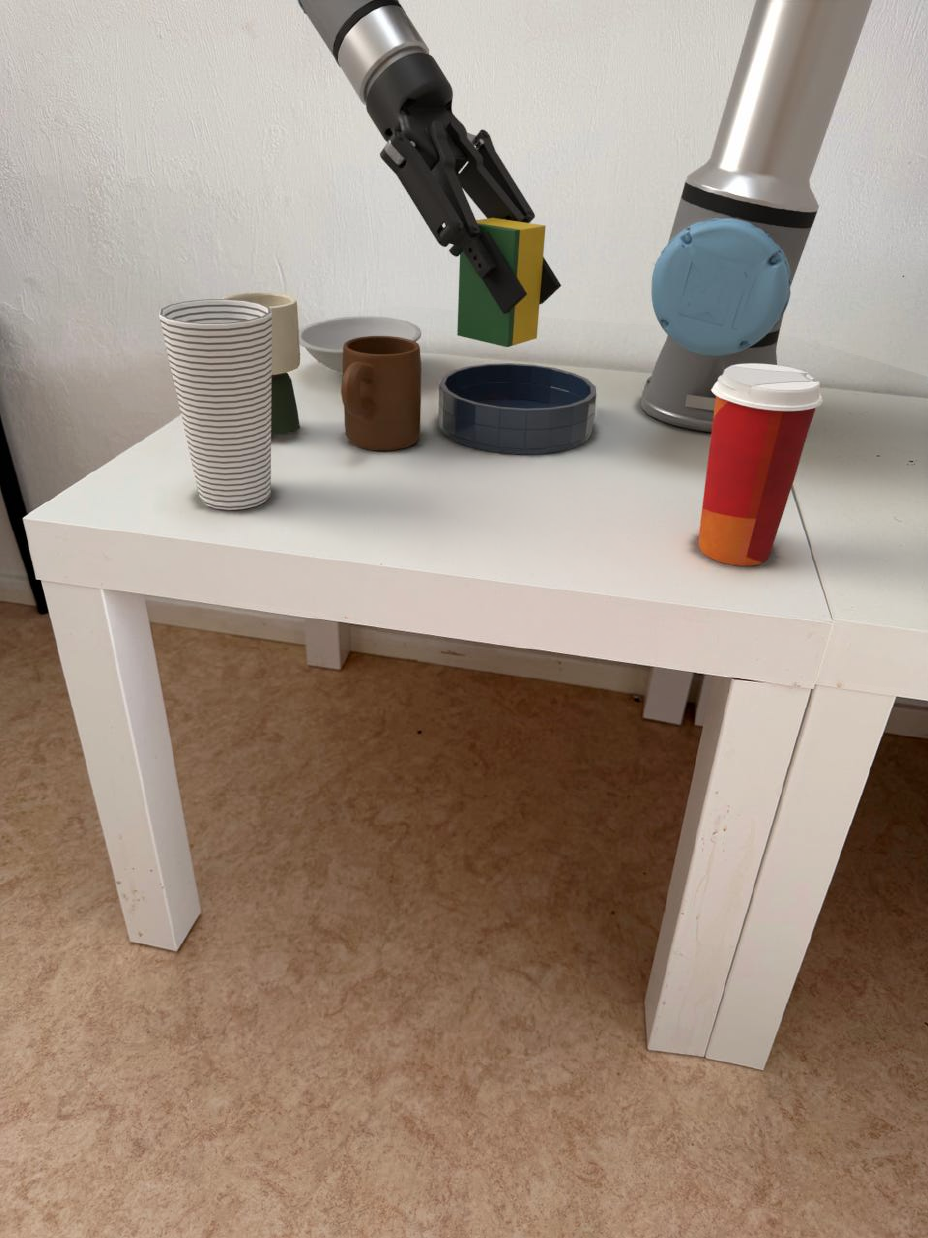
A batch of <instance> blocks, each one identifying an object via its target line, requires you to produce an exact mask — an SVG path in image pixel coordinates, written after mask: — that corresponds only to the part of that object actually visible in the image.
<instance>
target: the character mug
mask: <svg viewBox="0 0 928 1238" xmlns="http://www.w3.org/2000/svg"><path fill="white" fill-rule="evenodd" d="M221 299H232V300H245V301H251V302H256V303H261V304H263V305H265V306H267V307H269V308H270V309H271V312H272V369H271V436H280V435H282V436H284V435H289V434H293V433H296V432H297V431H298V430H299V429H300V428H301V425H300V418H299V411H298V406H297V401H296V396H295V391H294V387H293V380H292V378H291V376H290V374H289V372H292V371H295V370H297V369H298V368H299V367H300V365H301V348H300V347H301V345H300V344H299V330H300V329H299V315H298V314H299V313H298V302H297V299H296V298H295V297H293V296H291V295H288V294H282V293H277V292H276V293H275V292H243V293H242V292H241V293H235V294H234V293H233V294H230V295H225V296H223V297H222V298H221Z"/></svg>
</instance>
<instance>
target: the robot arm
mask: <svg viewBox="0 0 928 1238" xmlns="http://www.w3.org/2000/svg"><path fill="white" fill-rule="evenodd" d="M296 1H297V4H298V6H299V7H300V8H301V10H302V11H303V14H305V15H306V17H307V18H308V19H309V20H310V23H311V24H312V26H313V27H314V28H315V30H316V32H317V33H318V35H319V37H320V38H321V39H322V41H323V43H324V44H325V45H326V47H327V48H328V50H329V53H331V55H332V56H333V58H334V60H335V62H336V64H337V65H338V66H339V68H340V69H341V70H342V72H343V74H344V76H345V77H346V78H347V81H348V82H349V84H350V85H351V87H352V89H353V90H354V92H355V93H356V95H357V97H358V99H359V100H360V103H362V104H363V105H364V106H365V109H366V112H367V114H368V116H369V117H370V119H371V120H372V123H373V124H374V125H375V127H376V129H377V130H378V133H380V136H381V137H382V138H383V140H384V141H385V142H386V144H385V145H384V147H383V148H382V150H381V151H380V152H379V157H380V159H381V160H382V161H383V162H384V163H385V164H386V166H388V168H389V169H390V170H391V171H392V172H393V174H395V175H396V177H397V178H398V180H399V182H400V183H401V185H402V187H403V188H404V190H405V192H406V193H407V195H408V196H409V198H410V200H411V201H412V203H413V205H414V206H415V208H416V209H417V211H418V212H419V214H420V216H421V218H422V219H423V220H424V222H425V224H426V226H427V227H428V229H429V230H430V232H431V233H432V235H433V237H434V238H435V240H436V242H437V243H438V244H439V245H440V246H441V247H443V248H446V247H448V246H449V245H452V246H451V247H450V248H449V249H448V252H449V254H451V255H452V256H453V257H455V258H457V257H460V254H461V253H462V251H463V252H464V253H465V255H466V257H467V258H468V260H469V261H470V263H471V264H472V266H473V268H474V270H475V271H476V273H477V274H478V275H479V276H480V277H481V278H482V280H483V282H484V283H485V285H486V287H487V288H488V290H489V291H490V293H491V295H492V296H493V298H494V299H495V301H496V303H497V304H498V306H499V308H500V309H501V311H502V312H503V314H506V313H509V312H510V311H511V310H512V309H513V308H514V307H515V306H516V305H517V304H518V303H519V302H520V301H521V300H522V299H523V298H524V297H525V296H526V295H527V293H526V291H525V290H524V288H523V286H522V285H521V283H520V281H519V280H518V278H517V277H516V275H515V273H514V272H513V270H512V269H511V267H510V266H509V264H508V262H507V261H506V259H505V258H504V256H503V254H502V253H501V251H500V249H499V248H498V246H497V245H496V243H495V241H494V240H493V238H492V237H491V235H490V233H489V232H488V231H487V232H483V233H482V234H481V235H480V236H478V233H479V232H480V229H479V226H478V224H477V221H476V220H477V219H476V217H475V215H474V212H473V210H472V208H471V205H470V203H469V201H468V198H467V196H468V197H469V198H470V200H471V201H472V202H473V203H474V204H475V206H476V207H477V208H478V209H479V211H480V212H481V213H482V215H484V217H485V219H488V218H497V219H504V220H511V221H518V222H525V223H531V222H532V221H533V220H534V219H535V217H536V214H535V212H534V210H533V208H532V207H531V206H530V203H529V202H528V201H527V199H526V197H525V196H524V195H523V193H522V191H521V189H520V188H519V186H518V185H517V183H516V181H515V180H514V178H513V176H512V175H511V174H510V172H509V170H508V169H507V167H506V165H505V164H504V161H502V159H501V158H500V155H499V153H497V151H496V149H495V145H494V142H493V141H492V138H491V135H490V133H489V132H488V131H487V130H486V129H482V128H481V129H480V130H479V132H478V133H477V134H473V133H470V132H468V130H467V129H466V127H465V125H464V123H462V121H460V120H459V119H458V118H457V116H456V115H455V114H454V113H453V109H452V108H453V99H454V91H453V87H452V85H451V83H450V82H449V80H448V78H447V76H446V75H445V73H444V72H443V70H442V68H441V67H440V66H439V64H438V62H437V60H436V59H435V58H434V56H433V55H431V54H430V48H429V47H428V45H427V44H426V42H425V41H424V39H423V37H422V36H421V34H420V33H419V31H418V30H417V28H416V27H415V25H414V23H413V21H412V20H411V19H410V18H409V16H408V14H407V13H406V12H407V11H405V9H404V7H403V6H402V4H401V3H400V0H296ZM754 2H755V3H754V5H753V10H752V13H751V16H750V20H749V23H748V27H747V30H746V33H745V37H744V39H743V44H742V46H741V50H740V54H739V58H738V61H737V64H736V68H735V71H734V74H733V77H732V82H731V85H730V90H729V92H728V94H727V95H728V96H727V99H726V103H725V106H724V109H723V113H722V116H721V119H720V123H719V126H718V130H717V133H716V137H715V140H714V144H713V148H712V151H711V154H710V158H709V159H708V160H707V162H705V163H704V164H703V165H701V166H700V167H698V168H696V169H695V170H694V171H692V172H691V173H690V174H688V175H687V176H686V179H685V181H684V186H683V189H682V192H681V196H680V198H679V203H678V206H677V210H676V213H675V217H674V220H673V223H672V227H671V231H670V235H669V238H668V242H667V244H666V246H665V247H664V248H663V249H662V250H661V253H660V255H659V257H658V258H657V259H656V262H655V265H654V268H653V270H652V271H653V272H652V277H651V288H650V289H651V290H650V291H651V293H650V294H651V295H650V296H651V304H652V308H653V312H654V314H655V317H656V320H657V321H658V323H659V325H660V327H661V328H662V330H663V331H664V332H665V334H667V336H666V339H665V341H664V343H663V346H662V348H661V350H660V352H659V355H658V357H657V359H656V362H655V365H654V368H653V370H652V374H651V376H649V377H648V378H647V379H646V381H645V383H644V386H643V389H642V395H641V401H640V407H641V409H642V410H643V411H644V412H645V413H646V414H648V415H649V416H650V417H652V418H653V419H656V420H659V421H661V422H663V423H666V424H669V425H672V426H675V427H679V428H683V429H688V430H694V431H699V432H706V433H712V425H713V417H714V409H715V401H716V395H715V394H714V393H713V392H712V391H711V389H712V388H713V386H714V385H715V383H716V382H717V381H718V378H719V377H720V376H722V375H723V373H724V370H725V369H726V368H728V367H730V366H732V365H737V364H749V363H757V364H771V365H778V357H777V356H778V355H777V347H778V341H779V337H780V332H781V328H782V325H783V324H782V323H783V319H784V314H785V312H786V311H787V307H788V305H789V301H790V298H791V287H792V284H793V280H794V278H795V275H796V272H797V270H798V267H799V265H800V261H801V258H802V257H803V253H804V250H805V248H806V246H807V242H808V239H809V237H810V234H811V230H812V228H813V225H814V222H815V220H816V218H817V217H816V216H817V213H818V211H819V208H820V205H819V203H818V200H817V198H816V197H815V195H814V192H813V189H812V188H811V181H810V180H811V177H812V174H813V171H814V168H815V166H816V163H817V159H818V157H819V155H820V152H821V149H822V146H823V143H824V141H825V137H826V134H827V132H828V128H829V125H830V123H831V120H832V117H833V114H834V111H835V109H836V105H837V103H838V99H839V97H840V94H841V92H842V88H843V85H844V83H845V79H846V78H847V77H846V76H847V74H848V71H849V68H850V66H851V63H852V60H853V57H854V54H855V51H856V48H857V46H858V42H859V40H860V37H861V34H862V31H863V29H864V26H865V24H866V23H865V22H866V20H867V17H868V14H869V11H870V8H871V5H872V3H873V0H755V1H754ZM466 195H467V196H466ZM443 225H444V226H443ZM561 287H562V284H561V282H560V281H559V279H558V278H557V276H556V274H555V272H554V271H553V270H552V268H551V266H550V264H549V263H548V262H547V259H546V258H545V256H543V265H542V278H541V291H540V303H539V306H540V305H543V304H544V303H545V302H546V301H547V300H548V299H549V298H551V296H552V295H553V294H554V293H555V292H557V291H558V290H559V289H560V288H561Z"/></svg>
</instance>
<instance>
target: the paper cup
mask: <svg viewBox="0 0 928 1238" xmlns="http://www.w3.org/2000/svg"><path fill="white" fill-rule="evenodd" d="M820 387H821V383H820V381H818V380H817V379H816V378H814V377H813V376H812V375H811V374H809V372H807V371H804V370H801V369H797V368H794V367H790V366H785V365H784V366H783V365H778V364H777V365H771V364H757V363H749V364H737V365H732V366H730V367H728V368H726V369H725V370H724V373H723V375H722V376H720V377H719V378H718V381H717V382H716V383H715V385H714V386H713V388H712V389H711V391H712V392H713V393H714V394H715V395H716V401H715V409H714V417H713V425H712V432H710V433H711V434H710V440H709V441H710V442H709V449H708V450H709V451H708V457H707V465H706V473H705V482H704V490H703V497H702V506H701V514H700V522H699V532H698V548H699V550H700V552H701V553H702V554H703V555H704V556H706V557H708V558H709V559H712V560H714V561H716V562H719V563H721V564H725V565H731V566H739V567H749V566H755V565H756V566H757V565H760V564H762V563H765V562H766V561H767V560H768V559H769V557H770V555H771V552H772V549H773V546H774V544H775V540H776V537H777V534H778V532H779V528H780V525H781V522H782V519H783V515H784V512H785V508H786V506H787V502H788V501H789V500H788V499H789V496H790V493H791V490H792V487H793V484H794V481H795V478H796V475H797V471H798V468H799V464H800V462H801V458H802V454H803V452H804V448H805V444H806V441H807V437H808V434H809V431H810V427H811V425H812V421H813V419H814V415H815V412H816V408H818V407H820V406H821V405H822V404H823V397H822V394H821V393H820V391H821V390H820Z"/></svg>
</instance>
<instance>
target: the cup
mask: <svg viewBox="0 0 928 1238" xmlns="http://www.w3.org/2000/svg"><path fill="white" fill-rule="evenodd" d="M158 316H159V321H160V326H161V331H162V335H163V339H164V344H165V349H166V353H167V358H168V362H169V367H170V371H171V375H172V380H173V385H174V389H175V393H176V398H177V402H178V407H179V411H180V417H181V420H182V425H183V430H184V434H185V438H186V439H185V440H186V443H187V447H188V448H187V449H188V452H189V457H190V461H191V465H192V470H193V474H194V475H193V476H194V480H195V484H196V488H197V493H198V496H199V497H198V498H199V500H200V501H201V502H202V503H203V504H204V505H205V506H207V507H211V508H213V509H216V510H227V511H233V510H235V511H236V510H245V509H250V508H254V507H257V506H260V505H262V504H263V503H265V502H267V500H268V499H269V498H270V497H271V496H272V495H271V494H272V487H271V486H272V435H271V369H272V312H271V309H270V308H269V307H267V306H265V305H263V304H261V303H256V302H251V301H245V300H232V299H222V298H211V299H210V298H206V299H205V298H204V299H195V300H194V299H193V300H185V301H181V302H175V303H172V304H168V305H166V306H165V307H162V308H161V309H160V310H159V314H158Z"/></svg>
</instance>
